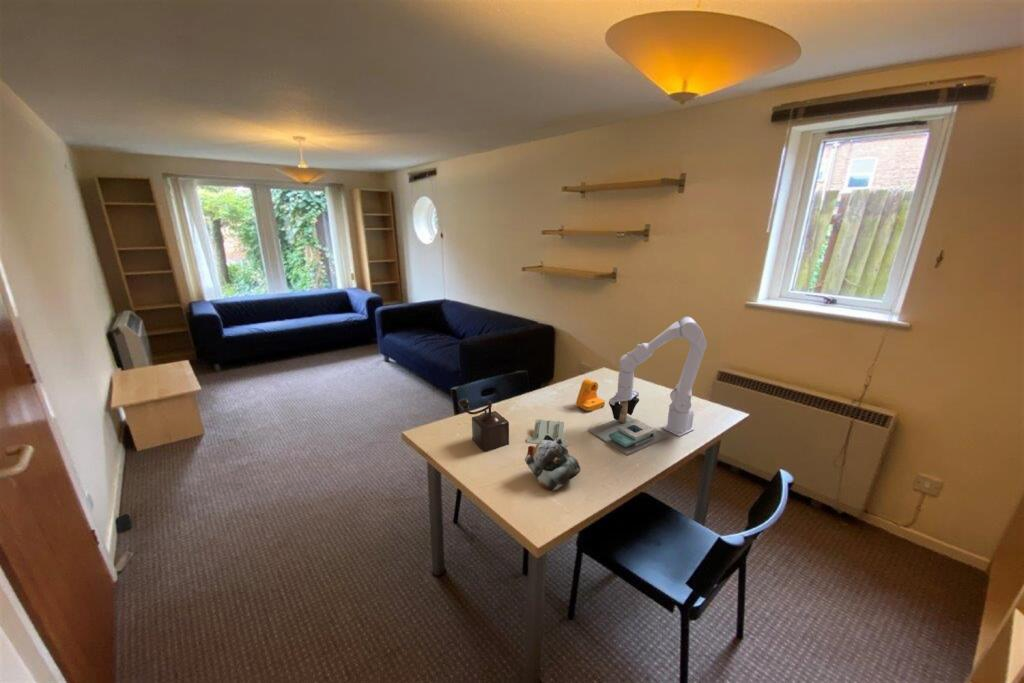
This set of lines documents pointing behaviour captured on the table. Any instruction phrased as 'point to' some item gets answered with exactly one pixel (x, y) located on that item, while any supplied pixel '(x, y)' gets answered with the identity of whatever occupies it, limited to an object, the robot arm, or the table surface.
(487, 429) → the brown coffee grinder
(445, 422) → the table surface
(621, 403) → the maple pin
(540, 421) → the metal bracket
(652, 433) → the peg hole fixture
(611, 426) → the rubber mat
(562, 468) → the lucky cat figurine
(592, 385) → the bracket
